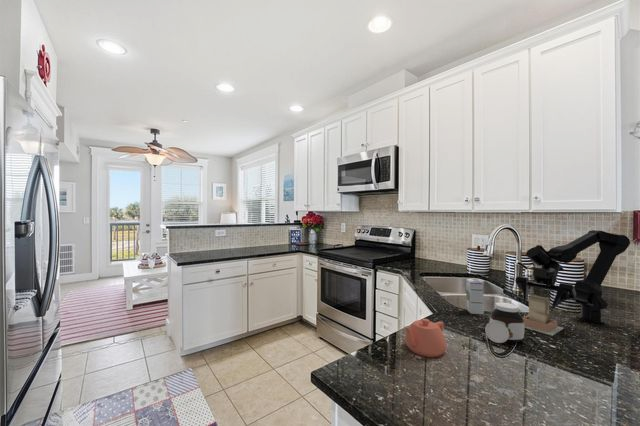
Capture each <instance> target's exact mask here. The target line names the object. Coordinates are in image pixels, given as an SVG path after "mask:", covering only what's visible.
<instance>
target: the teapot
mask: <svg viewBox="0 0 640 426" xmlns="http://www.w3.org/2000/svg"><path fill="white" fill-rule="evenodd" d="M444 327H445V324H444V322H443V321H440V320H439V321H437V322H432V321H430V319H428V318H422V319H419V320H415V321H412V323H411V324H410V325H409V326H403V328H404V329H405V339H404V340H405V344H406V346H407V347H408V349H409V350H410V351H411V352H413V353H414V354H416V355H419V356H422V357H425V358H437V357H440V356H442V355H443V354H444V353H446V351H447V349H448V348H447V341H446V337H445V335H444V333H443V330H444Z"/></svg>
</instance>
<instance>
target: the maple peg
mask: <svg viewBox="0 0 640 426" xmlns="http://www.w3.org/2000/svg"><path fill="white" fill-rule="evenodd" d="M528 315H529V320H533V321H537V322H541V323H544V324H548V323H549V319H550V297H545V296H540V295H534V294H533V295H531V296H528Z"/></svg>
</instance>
